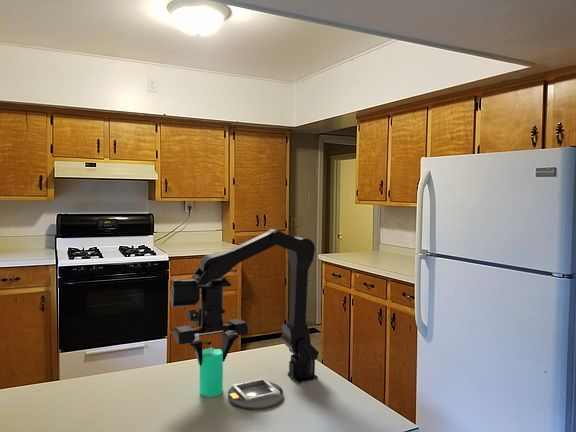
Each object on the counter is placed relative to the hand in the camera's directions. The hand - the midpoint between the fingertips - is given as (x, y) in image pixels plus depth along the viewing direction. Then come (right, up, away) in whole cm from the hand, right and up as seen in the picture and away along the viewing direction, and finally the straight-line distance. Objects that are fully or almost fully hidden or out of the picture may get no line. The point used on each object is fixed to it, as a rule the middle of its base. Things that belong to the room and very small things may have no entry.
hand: (211, 363), depth 115 cm
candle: (0, -8, 0) cm, 8 cm away
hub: (+12, -8, -2) cm, 14 cm away
